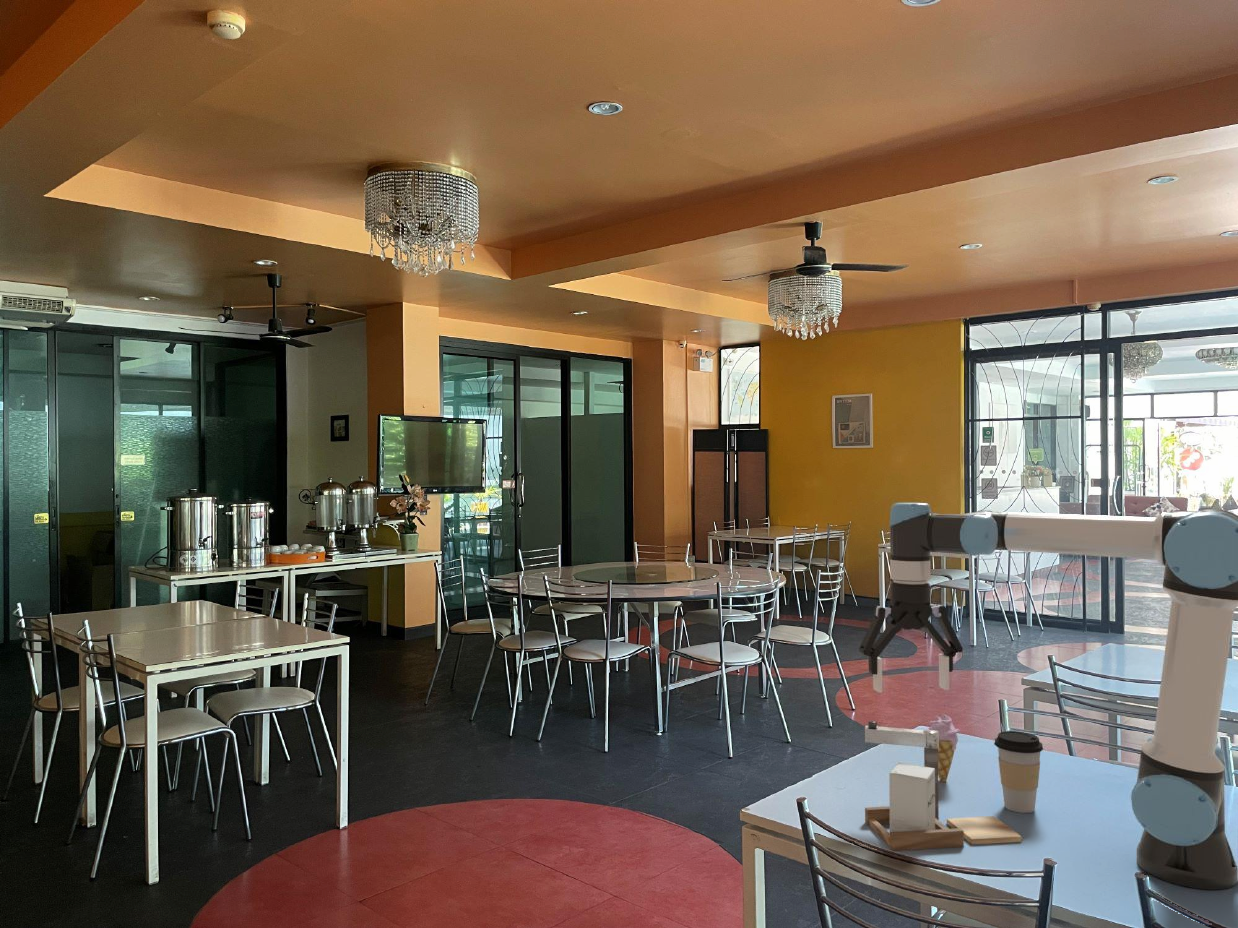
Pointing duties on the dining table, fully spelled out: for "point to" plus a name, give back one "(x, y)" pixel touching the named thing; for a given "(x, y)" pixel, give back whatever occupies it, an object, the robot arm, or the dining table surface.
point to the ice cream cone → (945, 744)
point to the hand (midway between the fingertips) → (911, 689)
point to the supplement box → (912, 798)
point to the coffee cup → (1019, 769)
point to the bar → (901, 736)
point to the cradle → (916, 838)
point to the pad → (984, 830)
